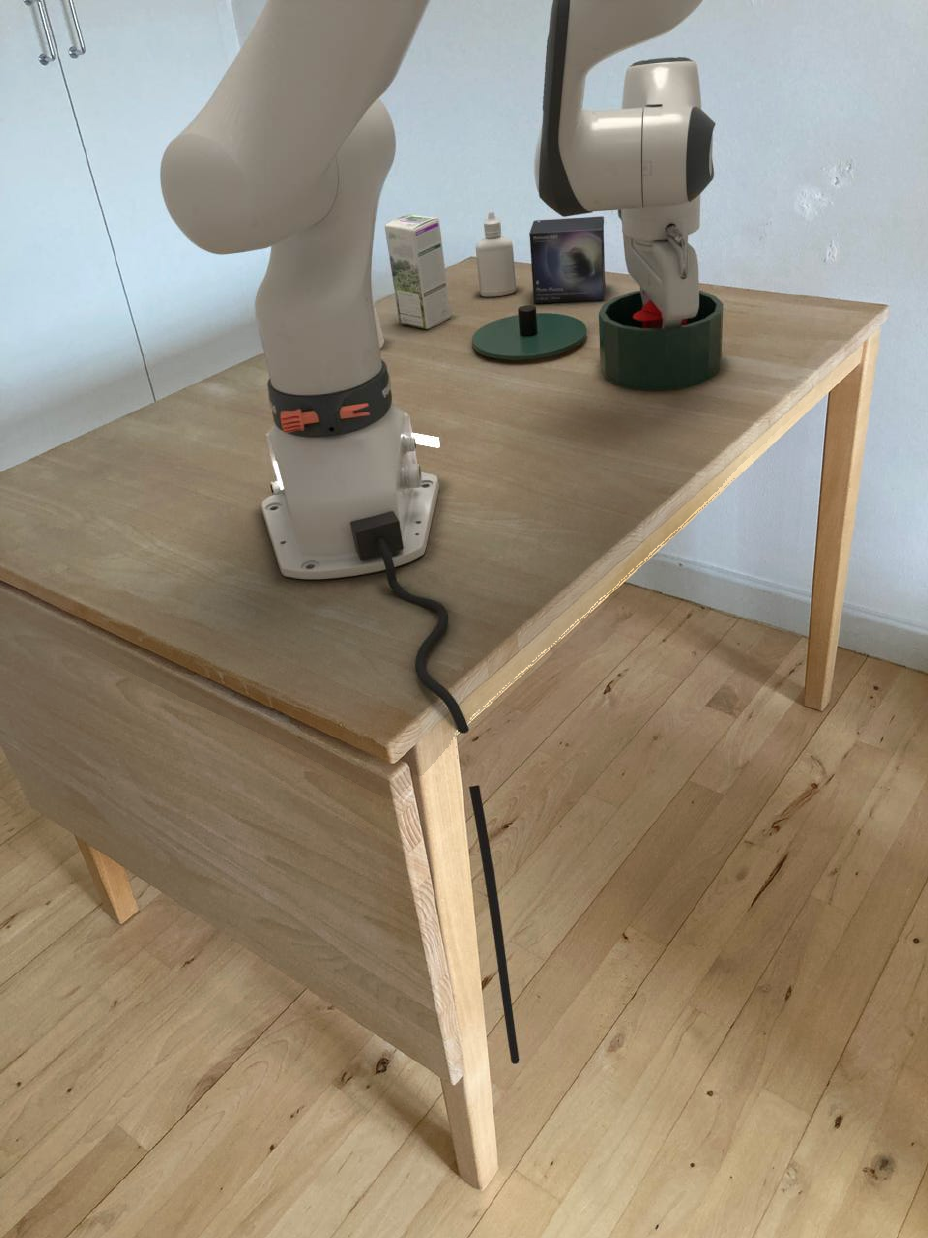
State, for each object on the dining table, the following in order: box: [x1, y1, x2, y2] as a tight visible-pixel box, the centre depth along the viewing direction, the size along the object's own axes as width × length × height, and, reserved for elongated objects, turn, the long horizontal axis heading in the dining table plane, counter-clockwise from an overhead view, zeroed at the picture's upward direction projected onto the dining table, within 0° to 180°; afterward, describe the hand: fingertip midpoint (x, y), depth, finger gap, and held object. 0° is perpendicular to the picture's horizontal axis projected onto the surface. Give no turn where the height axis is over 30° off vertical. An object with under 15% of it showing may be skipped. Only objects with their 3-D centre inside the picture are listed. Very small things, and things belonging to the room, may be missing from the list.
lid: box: [471, 304, 588, 361], centre depth 140 cm, size 16×16×5 cm
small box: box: [528, 216, 607, 304], centre depth 152 cm, size 11×6×10 cm, turn 80°
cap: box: [633, 300, 687, 328], centre depth 126 cm, size 8×6×6 cm
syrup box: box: [384, 214, 452, 330], centre depth 148 cm, size 6×6×14 cm
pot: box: [598, 290, 725, 392], centre depth 127 cm, size 15×15×8 cm
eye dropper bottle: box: [475, 211, 517, 298], centre depth 156 cm, size 4×6×12 cm
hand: (660, 331), depth 127 cm, fingers closed on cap, 7 cm apart
